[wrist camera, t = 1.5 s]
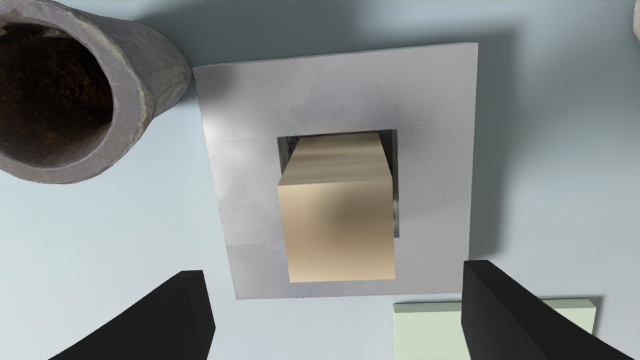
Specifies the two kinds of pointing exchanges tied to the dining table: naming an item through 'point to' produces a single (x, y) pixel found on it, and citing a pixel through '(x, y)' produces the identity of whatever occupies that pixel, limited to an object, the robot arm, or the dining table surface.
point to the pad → (458, 328)
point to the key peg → (338, 209)
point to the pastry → (636, 19)
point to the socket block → (336, 117)
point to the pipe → (78, 89)
